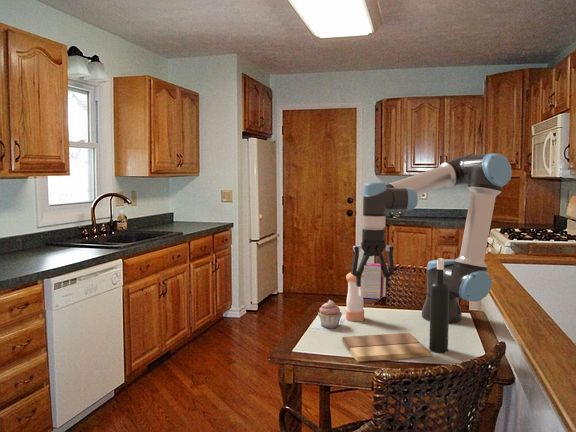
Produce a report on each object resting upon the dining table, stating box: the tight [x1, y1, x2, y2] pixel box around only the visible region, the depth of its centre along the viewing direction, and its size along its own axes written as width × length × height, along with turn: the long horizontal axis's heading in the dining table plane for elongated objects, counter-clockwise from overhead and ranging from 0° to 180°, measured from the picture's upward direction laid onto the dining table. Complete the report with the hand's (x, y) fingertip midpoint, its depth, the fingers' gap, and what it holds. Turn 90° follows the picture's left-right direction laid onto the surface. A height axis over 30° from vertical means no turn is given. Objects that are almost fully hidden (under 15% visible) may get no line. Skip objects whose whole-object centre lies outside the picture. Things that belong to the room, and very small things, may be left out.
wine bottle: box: [428, 257, 449, 354], centre depth 166 cm, size 6×6×30 cm
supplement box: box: [363, 262, 382, 301], centre depth 174 cm, size 6×6×12 cm
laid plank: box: [349, 343, 432, 363], centre depth 163 cm, size 24×8×2 cm, turn 100°
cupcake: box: [317, 299, 343, 329], centre depth 193 cm, size 9×9×10 cm
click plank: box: [341, 332, 420, 353], centre depth 172 cm, size 24×8×2 cm, turn 100°
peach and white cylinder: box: [345, 272, 365, 322], centre depth 202 cm, size 7×7×19 cm
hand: (371, 295), depth 175 cm, fingers closed on supplement box, 7 cm apart
